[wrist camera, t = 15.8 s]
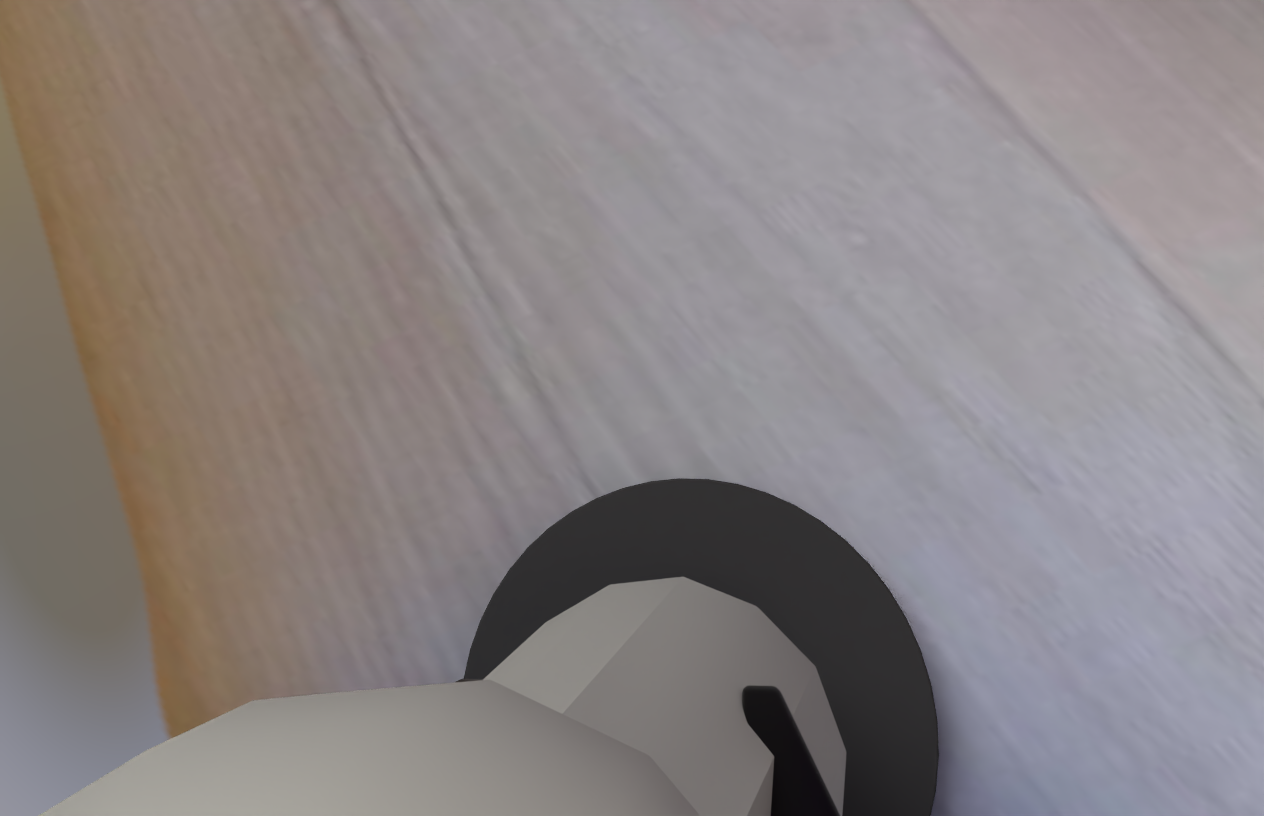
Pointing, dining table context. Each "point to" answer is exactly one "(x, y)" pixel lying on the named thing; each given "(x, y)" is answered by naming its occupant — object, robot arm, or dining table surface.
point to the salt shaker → (515, 729)
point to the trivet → (765, 577)
